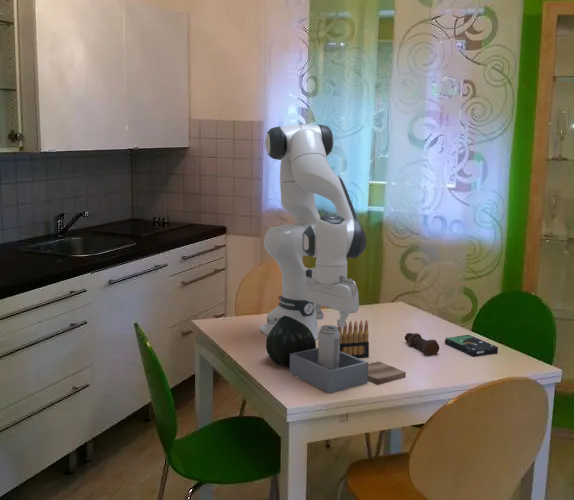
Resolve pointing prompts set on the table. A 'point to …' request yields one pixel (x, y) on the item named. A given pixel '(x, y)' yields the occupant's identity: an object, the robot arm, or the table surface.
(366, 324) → the ammunition clip
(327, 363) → the energy drink can
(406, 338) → the bolt
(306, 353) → the grey rectangular open frame
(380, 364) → the walnut pad
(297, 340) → the squash
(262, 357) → the table surface
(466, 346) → the disk drive
